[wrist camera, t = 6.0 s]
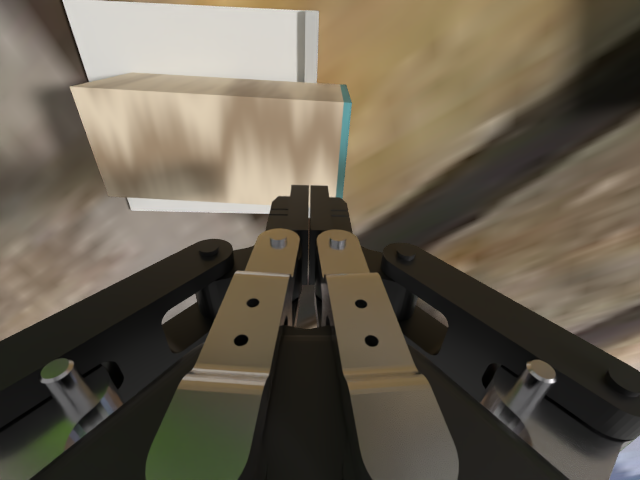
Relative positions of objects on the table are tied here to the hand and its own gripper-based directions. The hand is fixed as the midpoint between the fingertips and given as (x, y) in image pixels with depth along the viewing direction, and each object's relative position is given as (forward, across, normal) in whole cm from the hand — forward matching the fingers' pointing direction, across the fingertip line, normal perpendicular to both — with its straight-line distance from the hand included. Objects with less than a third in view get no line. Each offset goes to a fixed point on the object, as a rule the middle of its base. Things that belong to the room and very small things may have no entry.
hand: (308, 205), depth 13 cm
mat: (+12, +7, 0) cm, 14 cm away
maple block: (+8, -2, 0) cm, 8 cm away
